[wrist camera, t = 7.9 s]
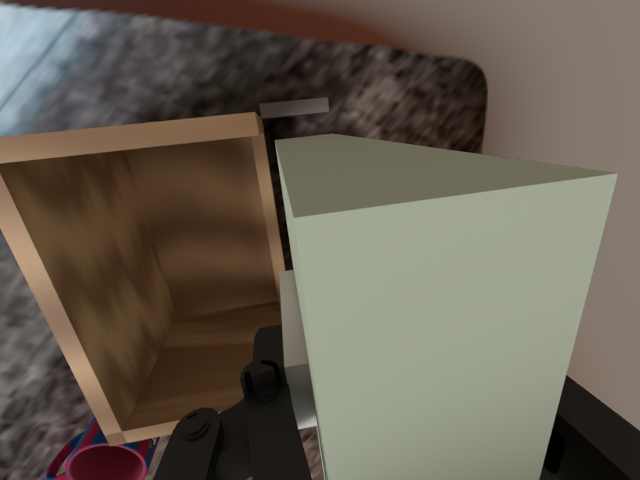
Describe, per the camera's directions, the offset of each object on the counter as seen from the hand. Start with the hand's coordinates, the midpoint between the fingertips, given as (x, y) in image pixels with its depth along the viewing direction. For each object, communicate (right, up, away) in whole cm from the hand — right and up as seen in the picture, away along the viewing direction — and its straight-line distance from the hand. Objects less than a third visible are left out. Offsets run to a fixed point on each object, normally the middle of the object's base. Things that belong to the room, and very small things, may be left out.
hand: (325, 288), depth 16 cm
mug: (-22, -16, +18) cm, 33 cm away
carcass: (-8, +4, +13) cm, 15 cm away
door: (0, +1, +2) cm, 3 cm away
